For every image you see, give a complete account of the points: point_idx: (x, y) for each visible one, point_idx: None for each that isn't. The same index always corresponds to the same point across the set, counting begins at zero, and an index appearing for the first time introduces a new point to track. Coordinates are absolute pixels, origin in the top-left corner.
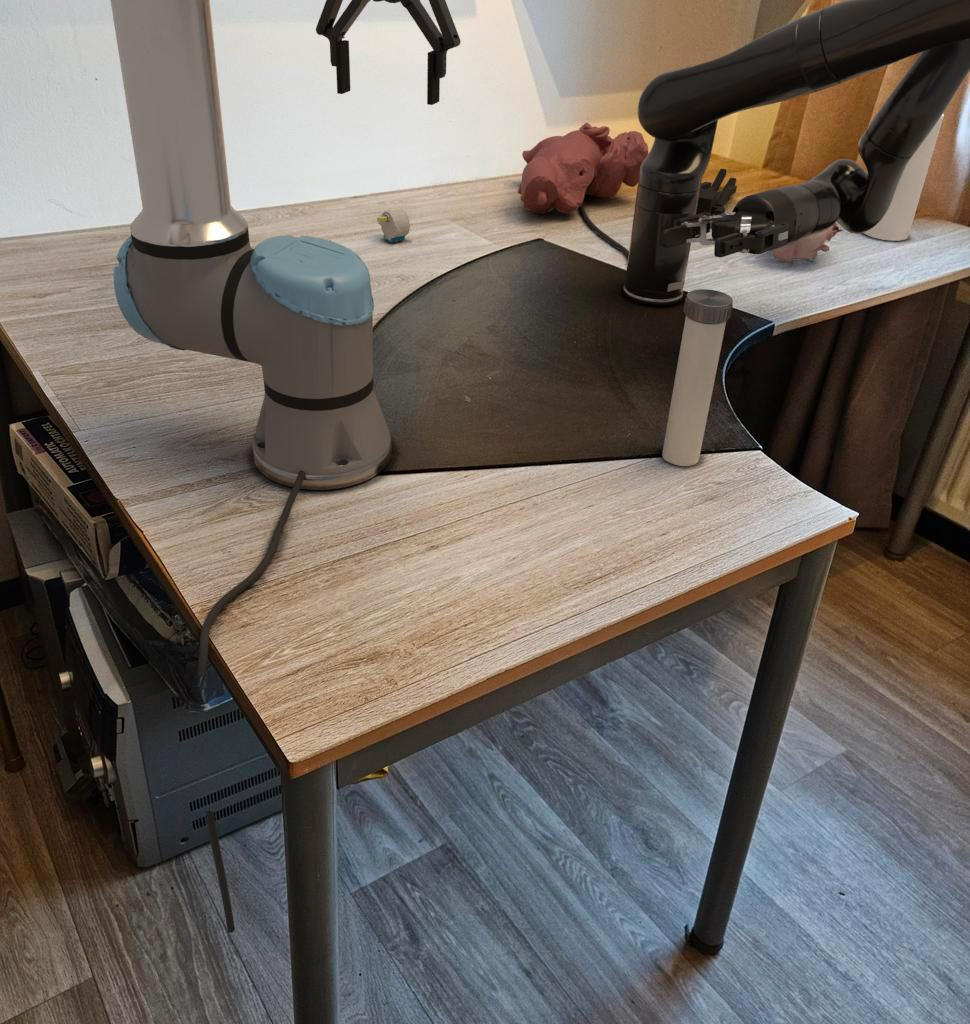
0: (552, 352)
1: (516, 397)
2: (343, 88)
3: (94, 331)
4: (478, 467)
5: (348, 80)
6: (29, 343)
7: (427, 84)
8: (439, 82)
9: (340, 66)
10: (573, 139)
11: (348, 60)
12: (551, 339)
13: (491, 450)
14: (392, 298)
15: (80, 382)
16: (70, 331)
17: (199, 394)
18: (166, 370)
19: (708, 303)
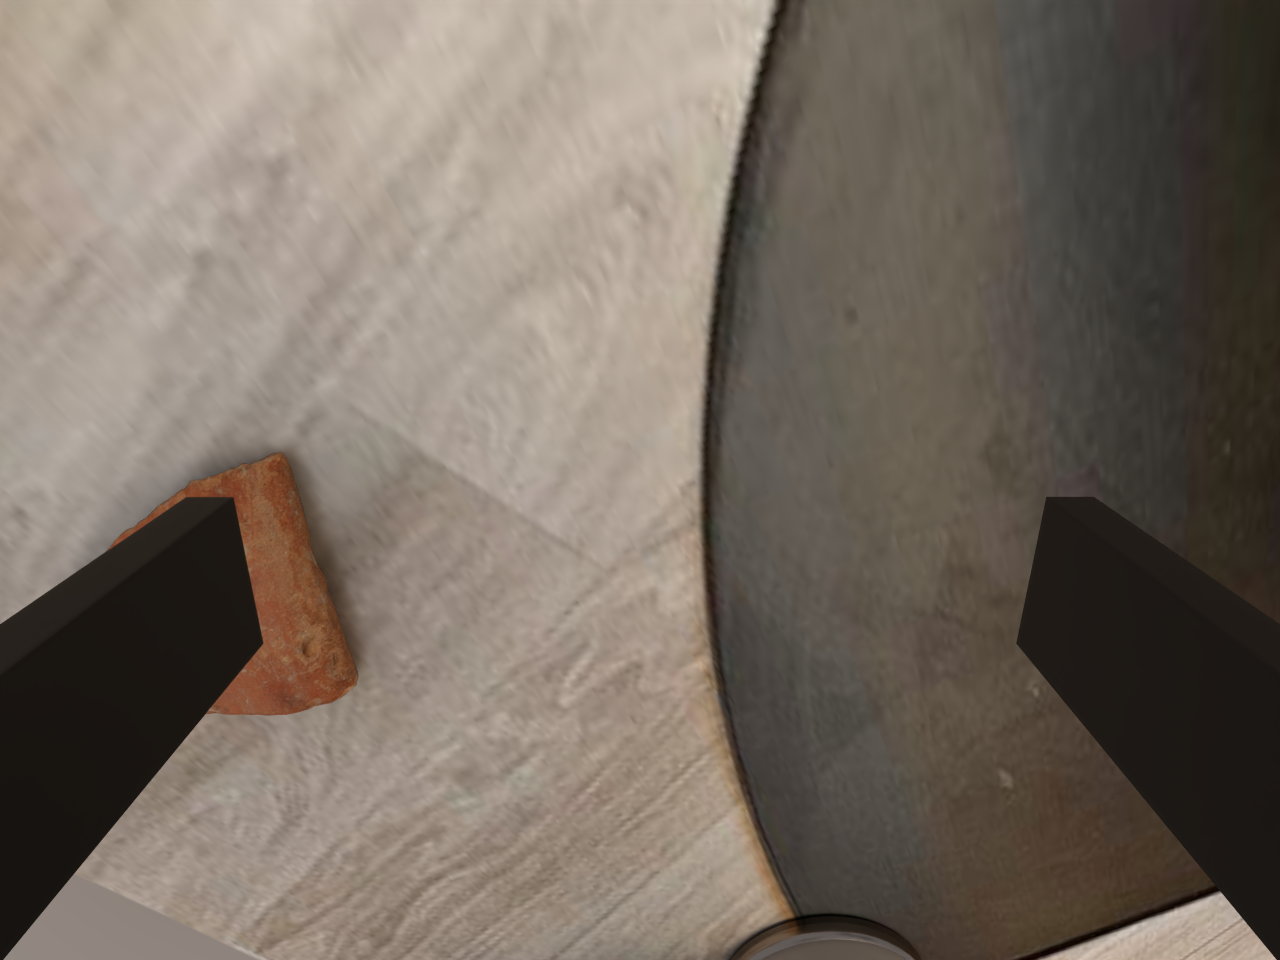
0: (1168, 526)
1: None
2: (237, 636)
3: (175, 803)
4: (1063, 945)
5: (191, 571)
6: (121, 879)
7: (1102, 747)
8: (1198, 573)
9: (130, 802)
10: None
11: (57, 657)
12: (1163, 456)
13: (1077, 903)
14: (674, 375)
15: (329, 949)
16: (135, 819)
17: (537, 918)
18: (425, 875)
19: None
